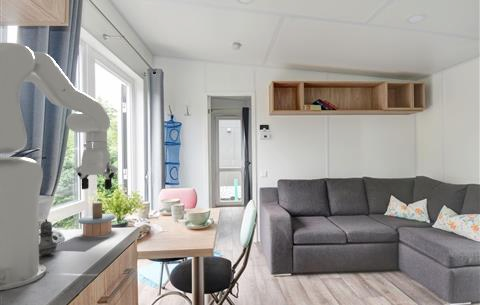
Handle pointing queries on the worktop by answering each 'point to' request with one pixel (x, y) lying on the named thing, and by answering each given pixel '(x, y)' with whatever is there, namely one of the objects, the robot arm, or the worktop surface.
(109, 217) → the lid
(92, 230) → the bowl
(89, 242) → the mat
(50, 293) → the worktop surface
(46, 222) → the grey stone tower figurine
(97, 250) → the worktop surface
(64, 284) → the worktop surface
